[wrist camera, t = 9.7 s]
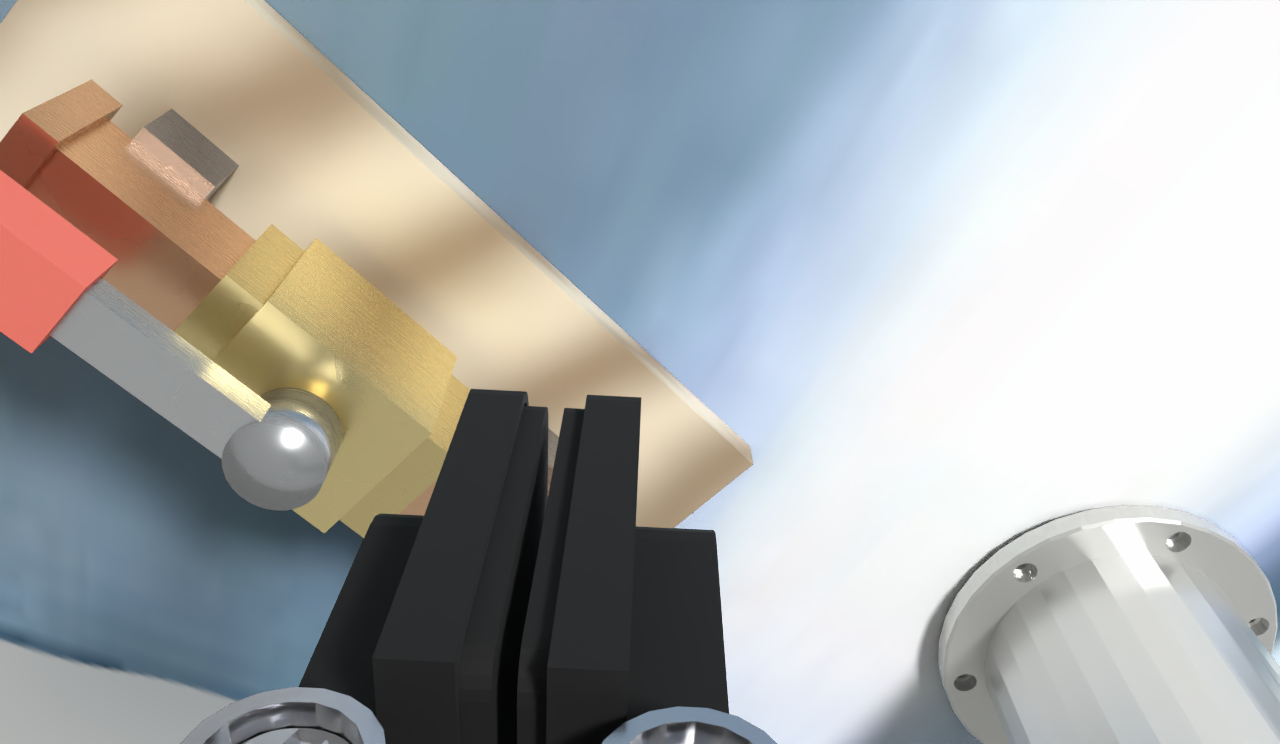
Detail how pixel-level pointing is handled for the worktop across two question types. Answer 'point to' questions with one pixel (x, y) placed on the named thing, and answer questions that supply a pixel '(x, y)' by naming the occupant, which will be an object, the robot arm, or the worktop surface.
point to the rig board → (369, 210)
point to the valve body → (250, 296)
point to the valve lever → (156, 358)
